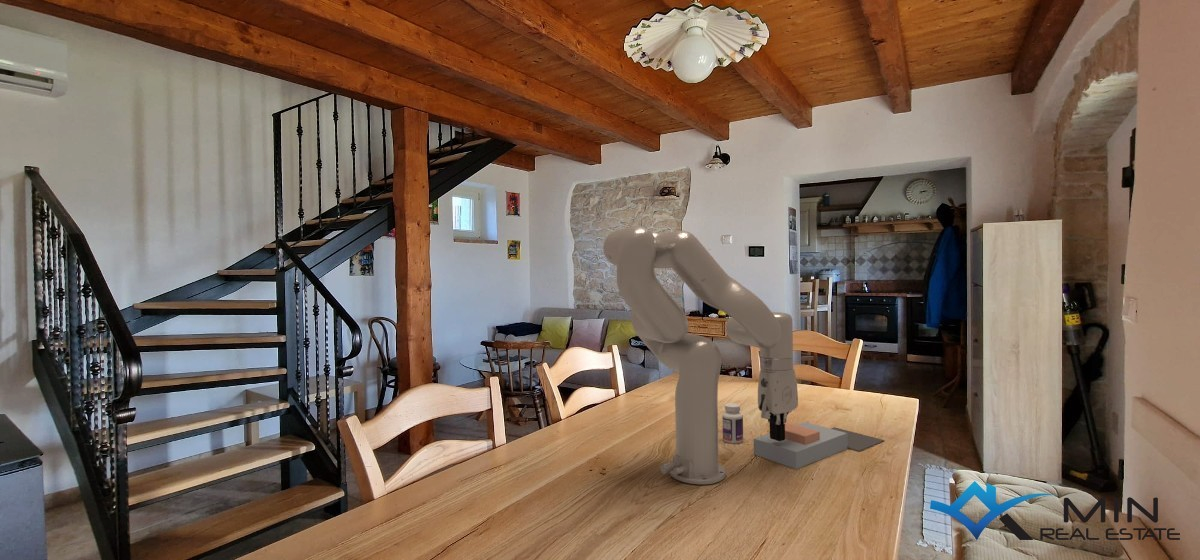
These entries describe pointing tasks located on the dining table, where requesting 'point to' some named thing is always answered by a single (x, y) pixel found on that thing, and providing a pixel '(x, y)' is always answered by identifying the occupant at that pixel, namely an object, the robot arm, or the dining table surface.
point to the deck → (801, 447)
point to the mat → (859, 440)
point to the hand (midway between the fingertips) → (777, 439)
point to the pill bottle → (732, 424)
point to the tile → (801, 434)
